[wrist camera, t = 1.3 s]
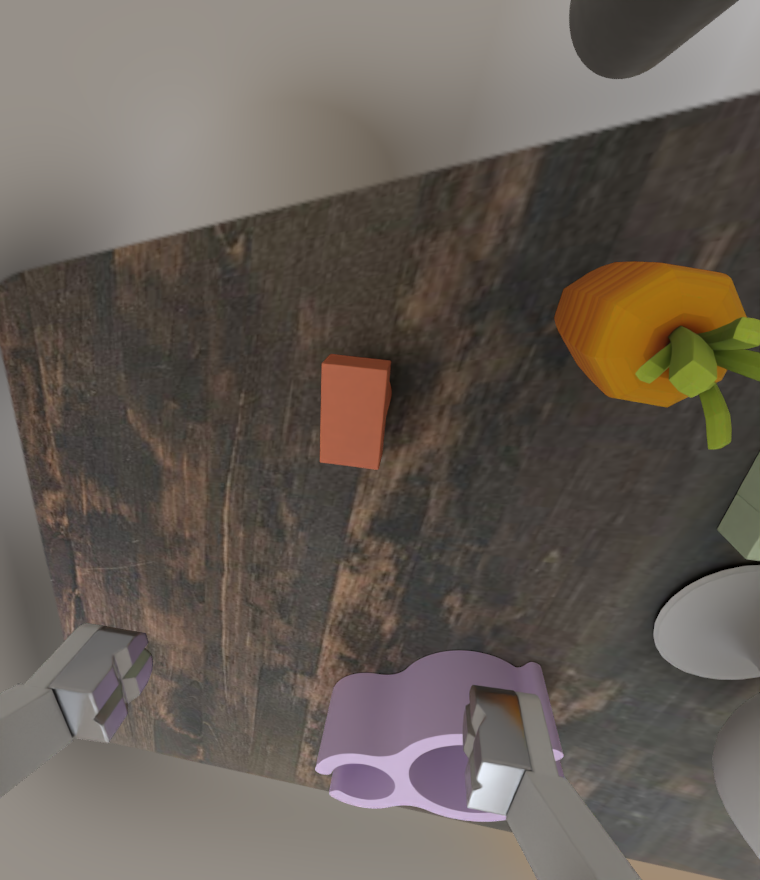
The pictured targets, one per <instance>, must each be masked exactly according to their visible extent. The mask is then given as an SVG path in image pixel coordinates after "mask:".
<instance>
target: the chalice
mask: <svg viewBox="0 0 760 880" xmlns="http://www.w3.org/2000/svg"><path fill="white" fill-rule="evenodd" d="M653 636H654V640H655V645H656V647H657V649H658V651H659V652H660V654H661V655H662V657H663V658H665V659H666V660H667V661H668V662H669V663H670V664H672V665H673V666H675V667H677V668H679V669H681V670H683V671H684V672H687V673H690V674H694V675H697V676H701V677H705V678H712V679H720V680H741V679H749V678H756V677H760V565H750V566H742V567H737V568H732V569H727V570H723V571H720V572H717V573H714V574H711V575H709V576H706V577H703V578H701V579H699V580H697V581H696V582H694V583H692V584H690V585H688V586H686V587H685V588H683V589H682V590H681V591H680V592H678V593H677V594H676V595H674V596H673V597H672V598H671V599H670V600H669V601H668V602H667V604H666V605H665V606H664V607H663V608H662V609H661V611H660V613H659V615H658V617H657V619H656V621H655V626H654V633H653ZM712 765H713V771H714V778H715V782H716V786H717V789H718V792H719V795H720V797H721V799H722V801H723V804H724V806H725V808H726V810H727V812H728V814H729V816H730V817H731V819H732V820H733V822H734V823H735V825H736V827H737V828H738V830H739V831H740V833H741V834H742V836H743V837H744V839H745V840H746V841H747V843H748V844H749V845H750V847H751V848H752V850H753V851H754V852H755V854H756V855H757V856H758V858H759V859H760V692H759V693H757V694H756V695H754V696H753V697H751V698H750V699H748V700H747V701H746V702H745V703H743V704H742V705H741V706H740V707H738V708H737V709H736V710H735V711H734V712H733V713H732V715H731V716H730V717H729V718H728V720H727V721H726V723H725V724H724V725H723V727H722V728H721V730H720V731H719V732H718V736H717V739H716V743H715V747H714V753H713V759H712Z"/></svg>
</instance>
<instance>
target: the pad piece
mask: <svg viewBox="0 0 760 880" xmlns="http://www.w3.org/2000/svg"><path fill="white" fill-rule="evenodd" d="M390 369H391V361H389V360H380V359H371V358H362V357H353V356H344V355H335V354H330V355H329V356H328V357H327V358H326V359H325V360H324V362H323V363H322V376H321V426H320V462H322V463H330V464H337V465H345V466H353V467H360V468H368V469H375V470H378V469H379V466H380V461H381V457H382V452H383V441H384V431H385V421H386V415H387V411H388V408H389V404H390V400H391V396H392V388H391V384H390V382H389V379H390Z"/></svg>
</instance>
